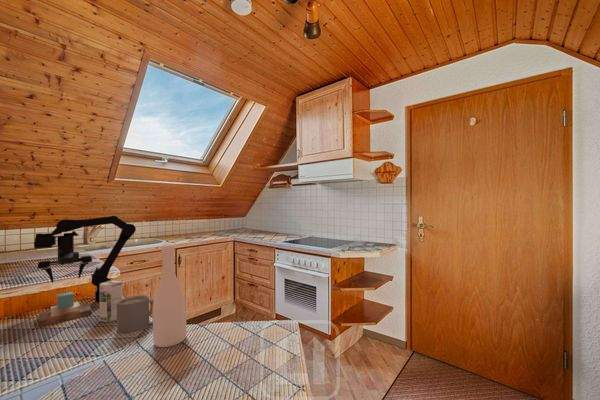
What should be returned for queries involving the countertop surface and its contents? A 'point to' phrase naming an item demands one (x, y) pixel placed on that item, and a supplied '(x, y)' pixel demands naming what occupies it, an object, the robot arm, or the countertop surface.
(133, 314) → the coffee mug
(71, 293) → the teal cube
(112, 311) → the syrup box
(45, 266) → the robot arm
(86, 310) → the stacking base
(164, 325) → the wine bottle
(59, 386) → the countertop surface
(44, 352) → the countertop surface
